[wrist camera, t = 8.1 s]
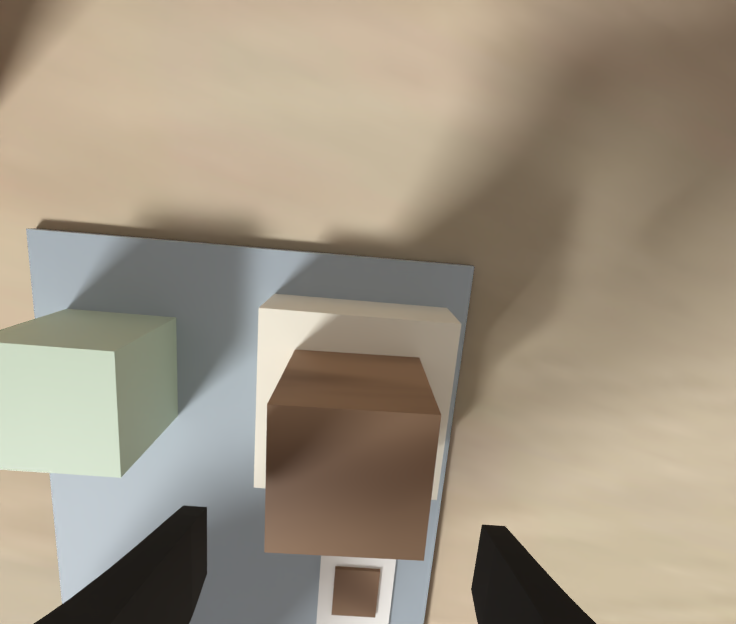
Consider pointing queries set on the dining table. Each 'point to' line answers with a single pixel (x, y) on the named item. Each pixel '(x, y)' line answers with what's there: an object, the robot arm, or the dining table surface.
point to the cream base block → (353, 348)
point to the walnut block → (350, 456)
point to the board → (226, 420)
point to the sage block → (85, 391)
